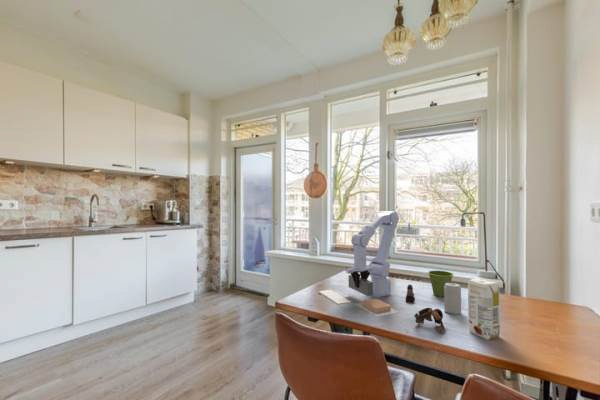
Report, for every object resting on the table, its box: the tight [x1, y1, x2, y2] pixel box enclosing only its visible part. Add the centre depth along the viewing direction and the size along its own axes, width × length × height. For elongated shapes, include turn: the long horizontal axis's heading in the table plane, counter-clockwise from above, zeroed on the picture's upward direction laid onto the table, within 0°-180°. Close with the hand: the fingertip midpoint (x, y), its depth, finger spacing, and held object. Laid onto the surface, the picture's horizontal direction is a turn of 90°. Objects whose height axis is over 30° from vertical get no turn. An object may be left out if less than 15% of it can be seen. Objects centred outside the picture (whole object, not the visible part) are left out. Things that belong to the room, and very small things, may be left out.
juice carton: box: [467, 277, 501, 341], centre depth 100 cm, size 8×9×19 cm
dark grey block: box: [348, 274, 374, 297], centre depth 136 cm, size 3×16×6 cm, turn 23°
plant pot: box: [427, 270, 454, 298], centre depth 144 cm, size 12×12×11 cm
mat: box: [355, 302, 399, 317], centre depth 125 cm, size 12×16×1 cm
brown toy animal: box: [414, 307, 445, 334], centre depth 106 cm, size 12×10×8 cm
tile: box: [361, 298, 392, 313], centre depth 124 cm, size 8×2×10 cm
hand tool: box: [405, 284, 416, 304], centre depth 140 cm, size 19×4×5 cm, turn 156°
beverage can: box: [443, 282, 462, 315], centre depth 121 cm, size 6×6×12 cm
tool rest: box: [318, 289, 352, 305], centre depth 139 cm, size 7×20×1 cm, turn 23°
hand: (360, 286), depth 136 cm, fingers closed on dark grey block, 3 cm apart
